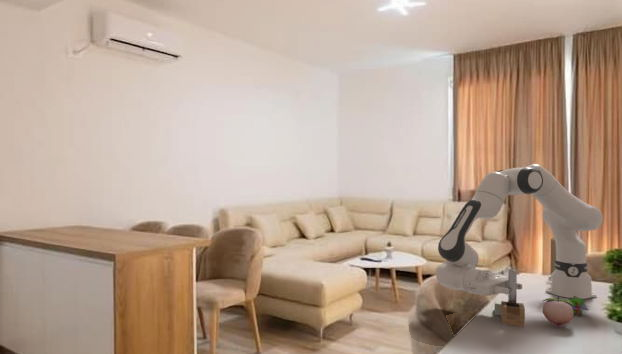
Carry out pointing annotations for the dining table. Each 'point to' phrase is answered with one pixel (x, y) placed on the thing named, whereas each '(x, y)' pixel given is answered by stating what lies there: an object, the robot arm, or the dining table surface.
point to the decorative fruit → (558, 311)
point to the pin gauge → (512, 287)
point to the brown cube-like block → (513, 314)
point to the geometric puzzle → (578, 305)
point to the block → (498, 306)
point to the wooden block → (553, 255)
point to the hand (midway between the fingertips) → (515, 289)
